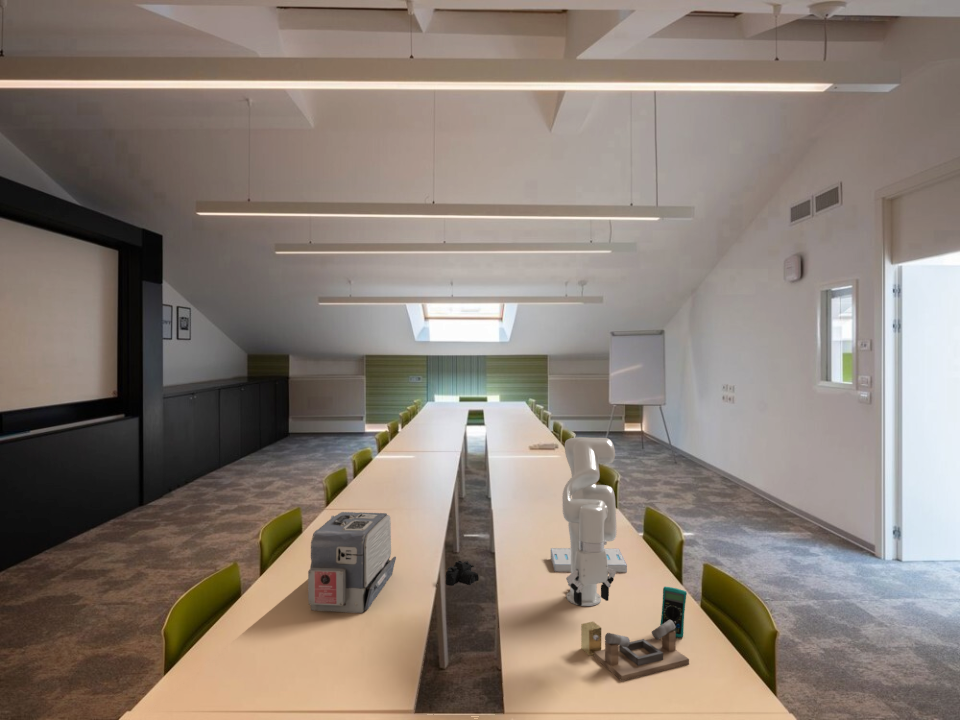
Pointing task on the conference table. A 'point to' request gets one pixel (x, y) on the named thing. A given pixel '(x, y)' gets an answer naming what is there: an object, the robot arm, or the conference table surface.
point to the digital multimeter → (674, 608)
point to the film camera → (461, 574)
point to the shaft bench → (641, 653)
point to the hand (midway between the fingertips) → (591, 601)
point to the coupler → (590, 637)
